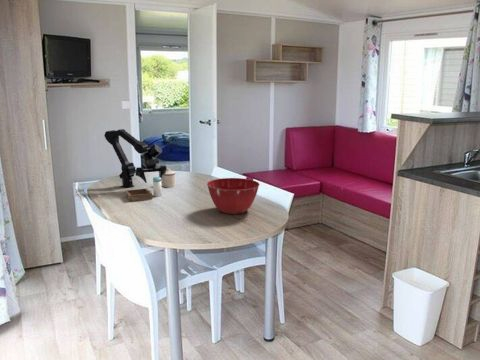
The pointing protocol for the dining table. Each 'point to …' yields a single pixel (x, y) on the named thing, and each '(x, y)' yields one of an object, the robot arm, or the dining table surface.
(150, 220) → the dining table surface
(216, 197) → the mixing bowl
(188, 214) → the dining table surface
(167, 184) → the teacup with lid
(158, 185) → the canister
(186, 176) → the dining table surface
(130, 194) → the brown wooden tray
